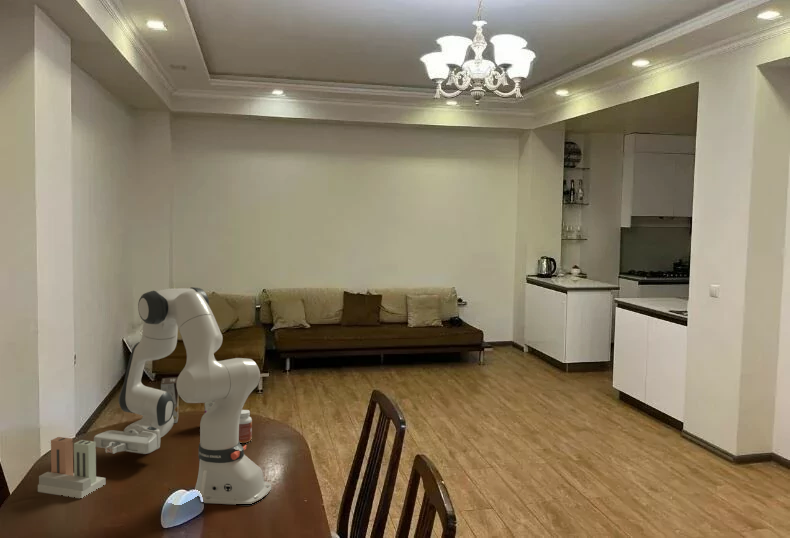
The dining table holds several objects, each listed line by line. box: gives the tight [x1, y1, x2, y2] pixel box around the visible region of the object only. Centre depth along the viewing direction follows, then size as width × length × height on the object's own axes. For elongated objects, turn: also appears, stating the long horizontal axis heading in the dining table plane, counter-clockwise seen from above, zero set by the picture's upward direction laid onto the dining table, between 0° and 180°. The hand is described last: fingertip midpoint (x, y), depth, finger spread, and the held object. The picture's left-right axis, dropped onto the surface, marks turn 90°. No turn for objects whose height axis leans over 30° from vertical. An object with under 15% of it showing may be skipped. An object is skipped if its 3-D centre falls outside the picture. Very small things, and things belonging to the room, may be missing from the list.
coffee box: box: [160, 376, 179, 424], centre depth 247 cm, size 9×6×16 cm
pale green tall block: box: [73, 439, 97, 484], centre depth 184 cm, size 5×3×12 cm, turn 76°
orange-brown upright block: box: [50, 436, 74, 476], centre depth 186 cm, size 5×3×12 cm, turn 76°
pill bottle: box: [239, 409, 253, 443], centre depth 226 cm, size 6×6×11 cm
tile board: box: [37, 471, 107, 499], centre depth 185 cm, size 15×10×4 cm, turn 76°
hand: (109, 450), depth 195 cm, fingers closed
